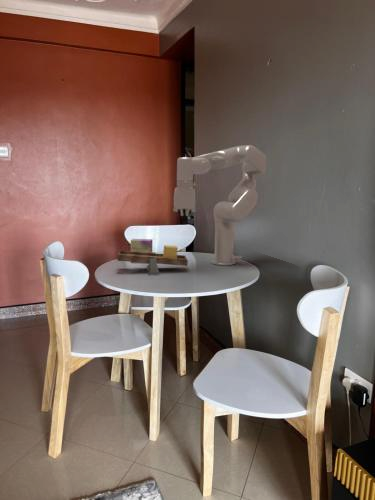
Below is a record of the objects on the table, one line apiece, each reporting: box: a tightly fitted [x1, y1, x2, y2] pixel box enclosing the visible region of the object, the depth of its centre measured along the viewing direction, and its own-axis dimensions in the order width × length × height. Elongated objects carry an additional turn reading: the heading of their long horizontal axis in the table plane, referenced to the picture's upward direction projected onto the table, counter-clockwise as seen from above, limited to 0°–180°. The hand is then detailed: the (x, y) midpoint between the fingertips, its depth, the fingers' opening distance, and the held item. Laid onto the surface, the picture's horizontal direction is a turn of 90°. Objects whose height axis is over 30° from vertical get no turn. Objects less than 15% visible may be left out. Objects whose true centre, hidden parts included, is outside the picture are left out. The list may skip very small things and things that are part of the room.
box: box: [130, 238, 153, 264], centre depth 196 cm, size 10×6×12 cm, turn 84°
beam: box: [117, 250, 189, 267], centre depth 178 cm, size 32×10×3 cm, turn 97°
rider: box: [162, 244, 178, 259], centre depth 178 cm, size 6×5×6 cm
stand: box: [146, 251, 160, 276], centre depth 178 cm, size 5×17×7 cm, turn 7°
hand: (184, 224), depth 178 cm, fingers closed
